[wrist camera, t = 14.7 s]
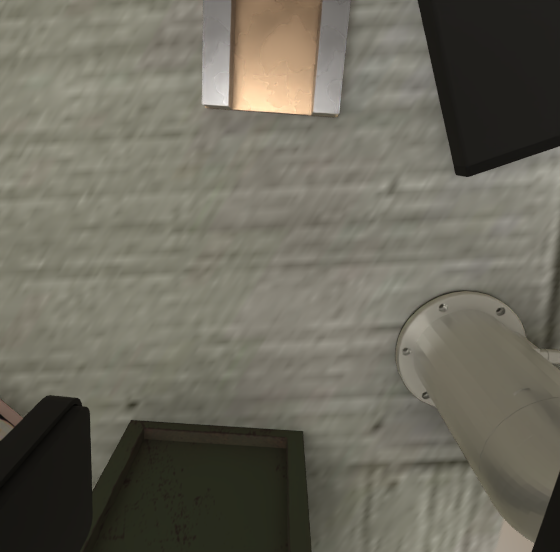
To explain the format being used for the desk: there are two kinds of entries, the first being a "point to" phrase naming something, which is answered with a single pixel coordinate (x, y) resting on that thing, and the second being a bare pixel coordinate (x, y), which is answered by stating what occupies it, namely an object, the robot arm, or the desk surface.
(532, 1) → the external hard drive
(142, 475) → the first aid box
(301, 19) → the frame
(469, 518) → the desk surface
